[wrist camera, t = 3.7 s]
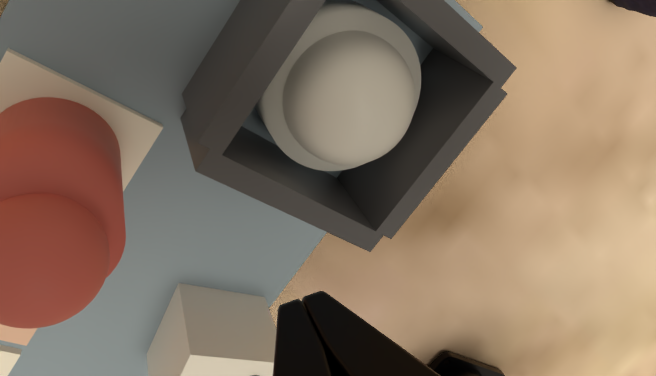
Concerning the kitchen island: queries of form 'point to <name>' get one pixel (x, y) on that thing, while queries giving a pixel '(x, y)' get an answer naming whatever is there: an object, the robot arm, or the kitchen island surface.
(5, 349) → the board
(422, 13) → the button housing
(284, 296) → the kitchen island surface
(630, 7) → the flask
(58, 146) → the pawn
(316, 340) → the robot arm
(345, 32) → the dome
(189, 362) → the beige cube
